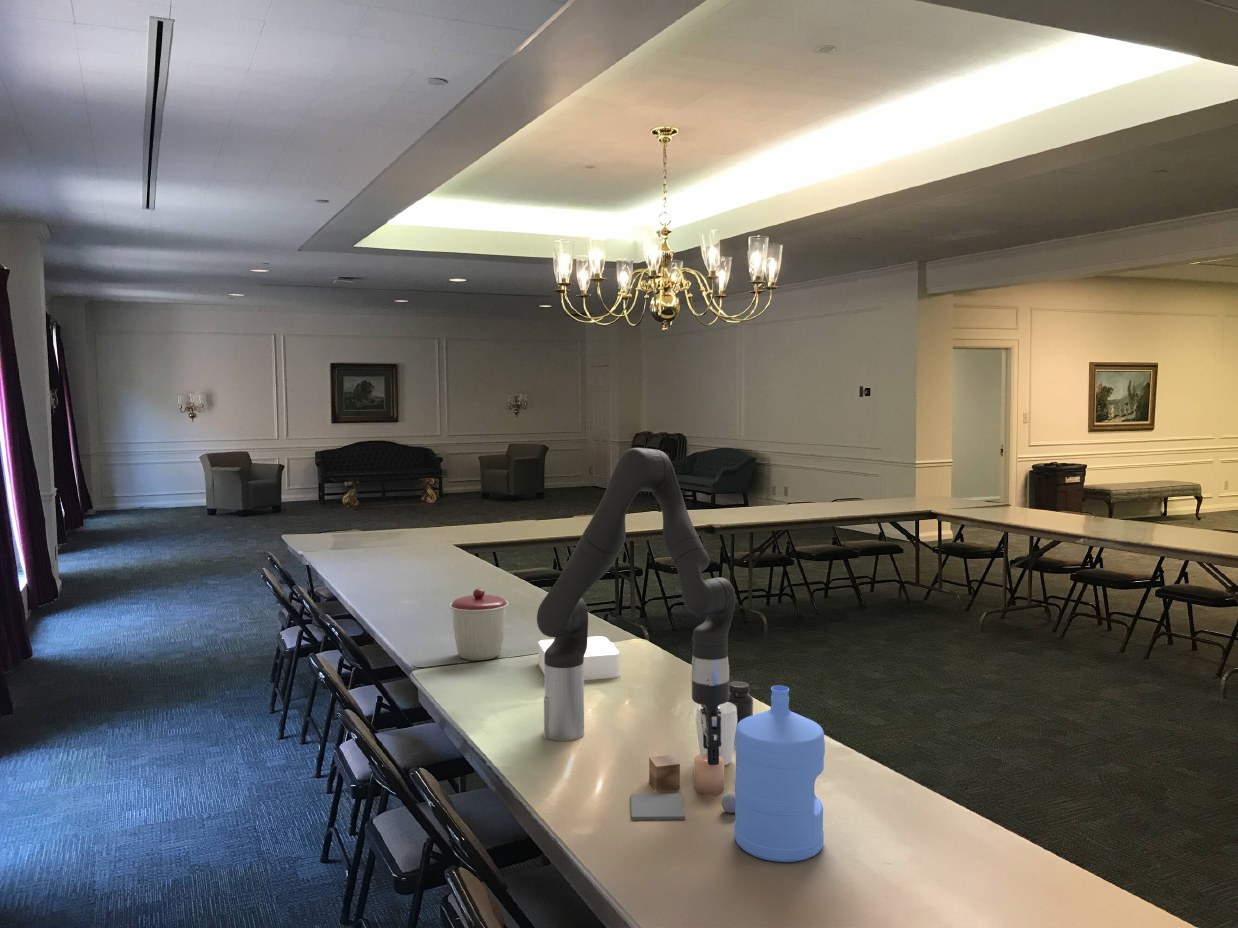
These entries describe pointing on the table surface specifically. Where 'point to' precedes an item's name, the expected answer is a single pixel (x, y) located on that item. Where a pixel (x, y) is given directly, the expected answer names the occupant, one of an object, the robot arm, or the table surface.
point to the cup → (727, 730)
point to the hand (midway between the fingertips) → (710, 755)
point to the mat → (657, 807)
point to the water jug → (778, 783)
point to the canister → (479, 625)
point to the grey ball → (729, 802)
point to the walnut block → (664, 772)
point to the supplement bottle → (741, 699)
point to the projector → (592, 658)
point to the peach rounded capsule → (708, 775)
